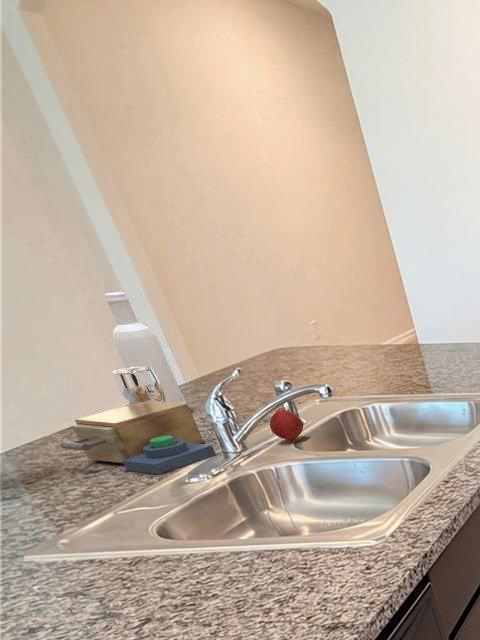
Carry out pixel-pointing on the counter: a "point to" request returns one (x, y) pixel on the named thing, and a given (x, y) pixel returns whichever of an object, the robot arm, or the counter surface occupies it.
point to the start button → (162, 441)
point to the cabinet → (147, 424)
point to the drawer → (98, 442)
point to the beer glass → (139, 384)
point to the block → (168, 457)
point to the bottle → (140, 345)
